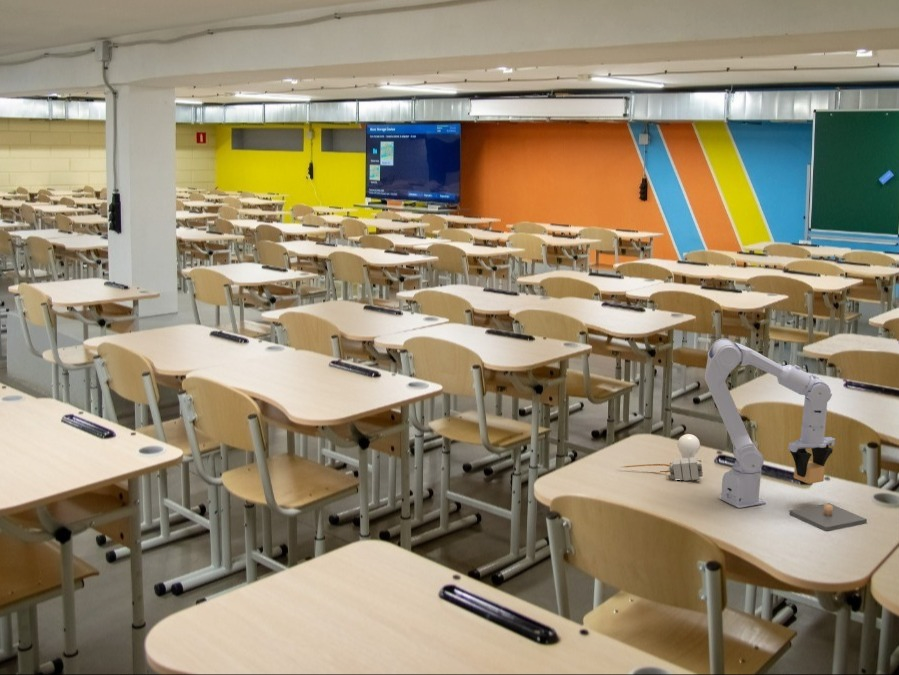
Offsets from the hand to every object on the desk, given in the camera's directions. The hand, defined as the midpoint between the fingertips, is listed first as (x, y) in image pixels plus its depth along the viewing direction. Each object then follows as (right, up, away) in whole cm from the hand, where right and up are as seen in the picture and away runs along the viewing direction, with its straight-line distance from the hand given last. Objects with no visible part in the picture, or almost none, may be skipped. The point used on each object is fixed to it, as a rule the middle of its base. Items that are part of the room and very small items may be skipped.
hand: (809, 474), depth 244 cm
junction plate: (+2, -10, -8) cm, 13 cm away
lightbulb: (-25, -3, +28) cm, 37 cm away
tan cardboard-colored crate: (0, -1, 0) cm, 1 cm away
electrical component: (-35, -4, +22) cm, 41 cm away
